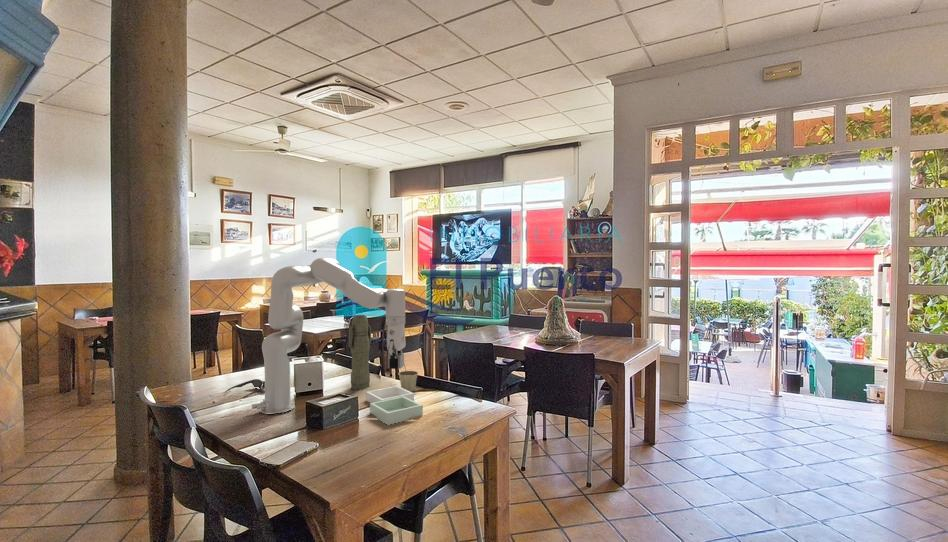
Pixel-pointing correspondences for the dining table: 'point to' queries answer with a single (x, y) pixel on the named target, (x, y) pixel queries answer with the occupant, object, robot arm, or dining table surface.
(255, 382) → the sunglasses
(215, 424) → the dining table surface
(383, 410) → the bin
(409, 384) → the flower pot
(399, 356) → the gray cube
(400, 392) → the bin
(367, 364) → the olive green tall block
